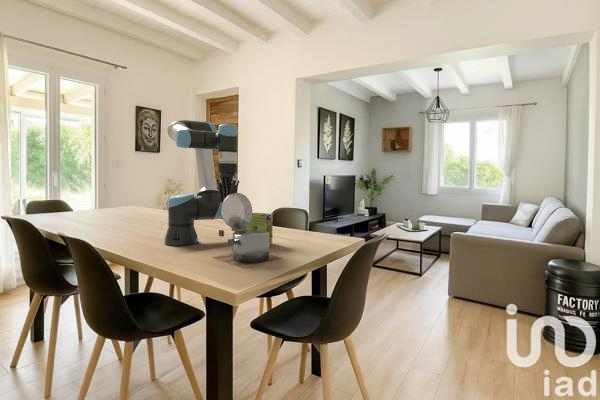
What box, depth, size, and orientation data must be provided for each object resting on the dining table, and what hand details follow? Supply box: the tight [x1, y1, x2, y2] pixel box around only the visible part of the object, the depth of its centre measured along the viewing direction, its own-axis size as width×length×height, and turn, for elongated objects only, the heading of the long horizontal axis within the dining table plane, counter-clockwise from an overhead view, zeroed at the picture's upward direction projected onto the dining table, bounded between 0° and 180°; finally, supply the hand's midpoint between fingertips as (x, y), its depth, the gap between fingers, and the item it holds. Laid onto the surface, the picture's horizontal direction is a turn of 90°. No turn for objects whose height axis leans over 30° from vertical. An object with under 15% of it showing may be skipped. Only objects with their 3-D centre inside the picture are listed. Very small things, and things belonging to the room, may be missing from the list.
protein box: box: [233, 212, 274, 246], centre depth 153 cm, size 10×15×16 cm
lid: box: [221, 192, 253, 232], centre depth 134 cm, size 15×14×4 cm
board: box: [211, 252, 284, 269], centre depth 130 cm, size 20×20×1 cm
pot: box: [218, 226, 273, 264], centre depth 129 cm, size 16×19×11 cm
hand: (227, 219), depth 138 cm, fingers closed
